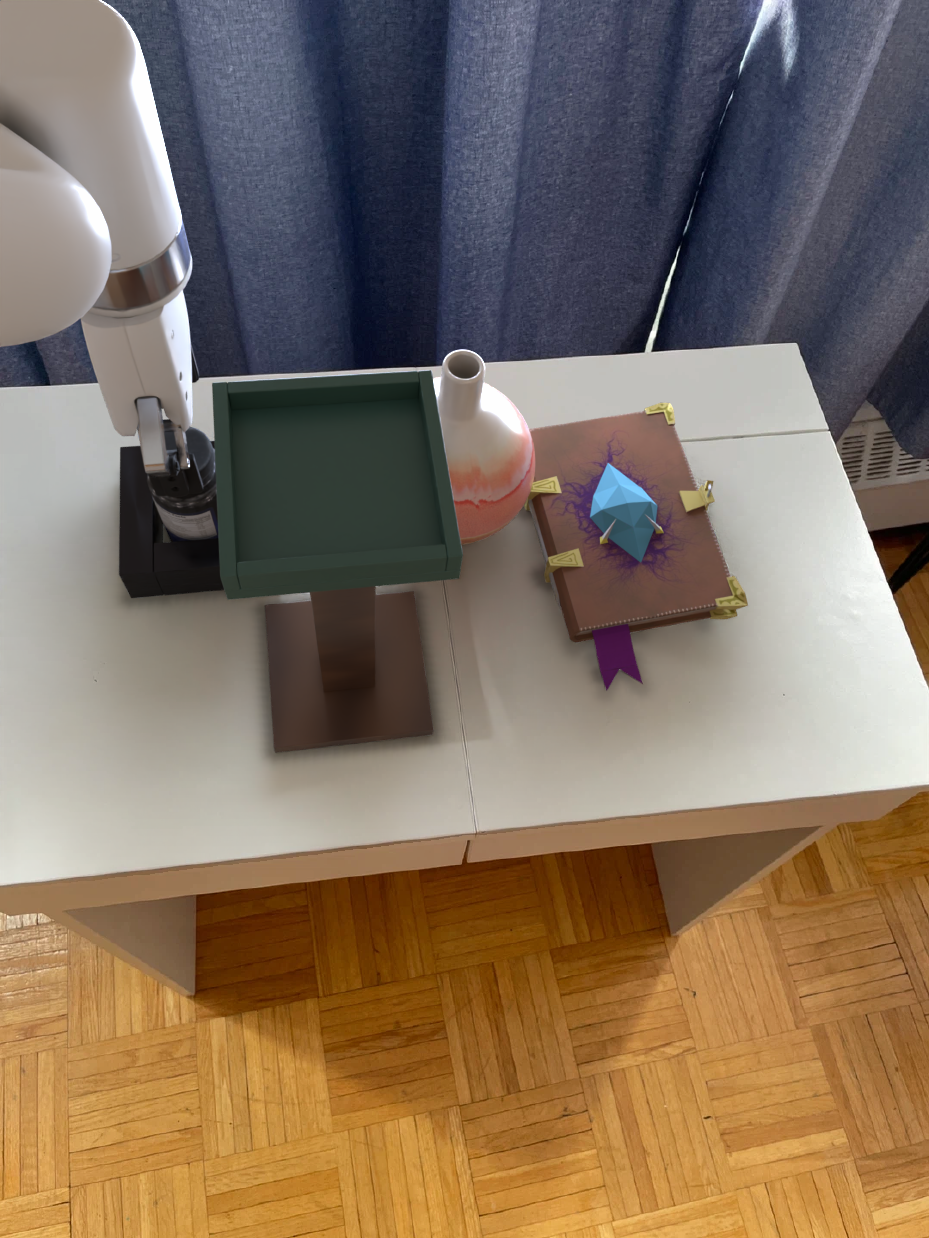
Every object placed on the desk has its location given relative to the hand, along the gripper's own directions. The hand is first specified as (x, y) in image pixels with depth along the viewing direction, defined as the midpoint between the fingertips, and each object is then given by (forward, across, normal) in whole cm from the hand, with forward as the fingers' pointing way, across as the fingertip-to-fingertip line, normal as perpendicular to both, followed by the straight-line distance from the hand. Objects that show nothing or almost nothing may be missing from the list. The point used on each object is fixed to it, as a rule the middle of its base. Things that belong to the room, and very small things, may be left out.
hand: (179, 434), depth 67 cm
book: (+13, +6, +36) cm, 38 cm away
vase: (+13, 0, +20) cm, 24 cm away
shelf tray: (-13, +14, +10) cm, 22 cm away
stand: (+13, +14, +10) cm, 22 cm away
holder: (+13, 0, 0) cm, 13 cm away
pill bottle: (+13, 0, 0) cm, 13 cm away
